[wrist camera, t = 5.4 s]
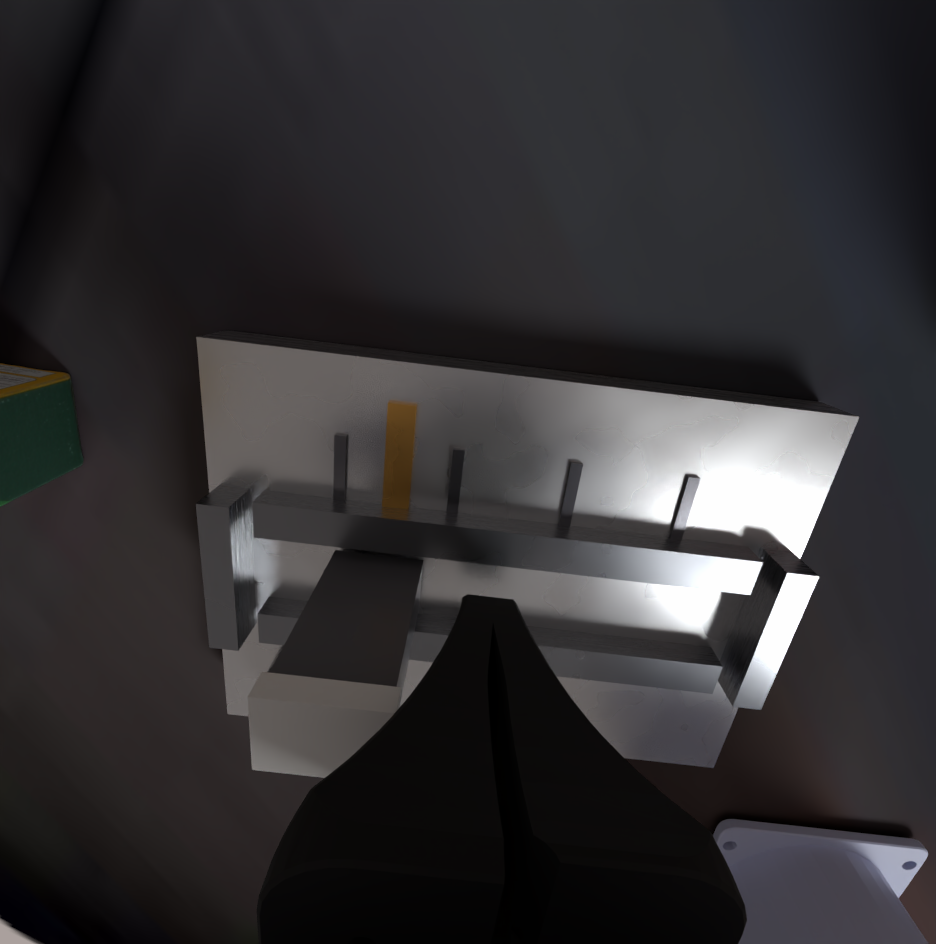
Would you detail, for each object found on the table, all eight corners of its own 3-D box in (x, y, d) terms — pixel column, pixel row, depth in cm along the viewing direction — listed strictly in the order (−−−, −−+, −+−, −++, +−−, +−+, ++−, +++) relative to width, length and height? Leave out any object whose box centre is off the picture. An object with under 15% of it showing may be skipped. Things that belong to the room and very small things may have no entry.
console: (695, 729, 18) (729, 803, 16) (247, 679, 18) (208, 746, 15) (820, 402, 14) (896, 431, 11) (226, 330, 13) (166, 343, 11)
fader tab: (422, 611, 14) (390, 785, 10) (330, 601, 14) (252, 769, 9) (427, 557, 14) (396, 713, 9) (331, 546, 14) (247, 697, 9)
